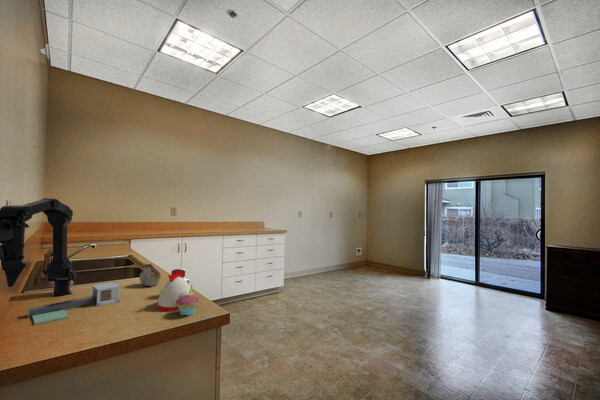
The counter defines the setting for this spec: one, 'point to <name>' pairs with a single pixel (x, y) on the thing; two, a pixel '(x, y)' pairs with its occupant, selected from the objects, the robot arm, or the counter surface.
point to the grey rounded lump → (150, 275)
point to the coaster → (49, 317)
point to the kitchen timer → (173, 291)
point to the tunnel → (104, 287)
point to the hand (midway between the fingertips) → (10, 285)
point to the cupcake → (187, 303)
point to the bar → (61, 306)
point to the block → (104, 295)
